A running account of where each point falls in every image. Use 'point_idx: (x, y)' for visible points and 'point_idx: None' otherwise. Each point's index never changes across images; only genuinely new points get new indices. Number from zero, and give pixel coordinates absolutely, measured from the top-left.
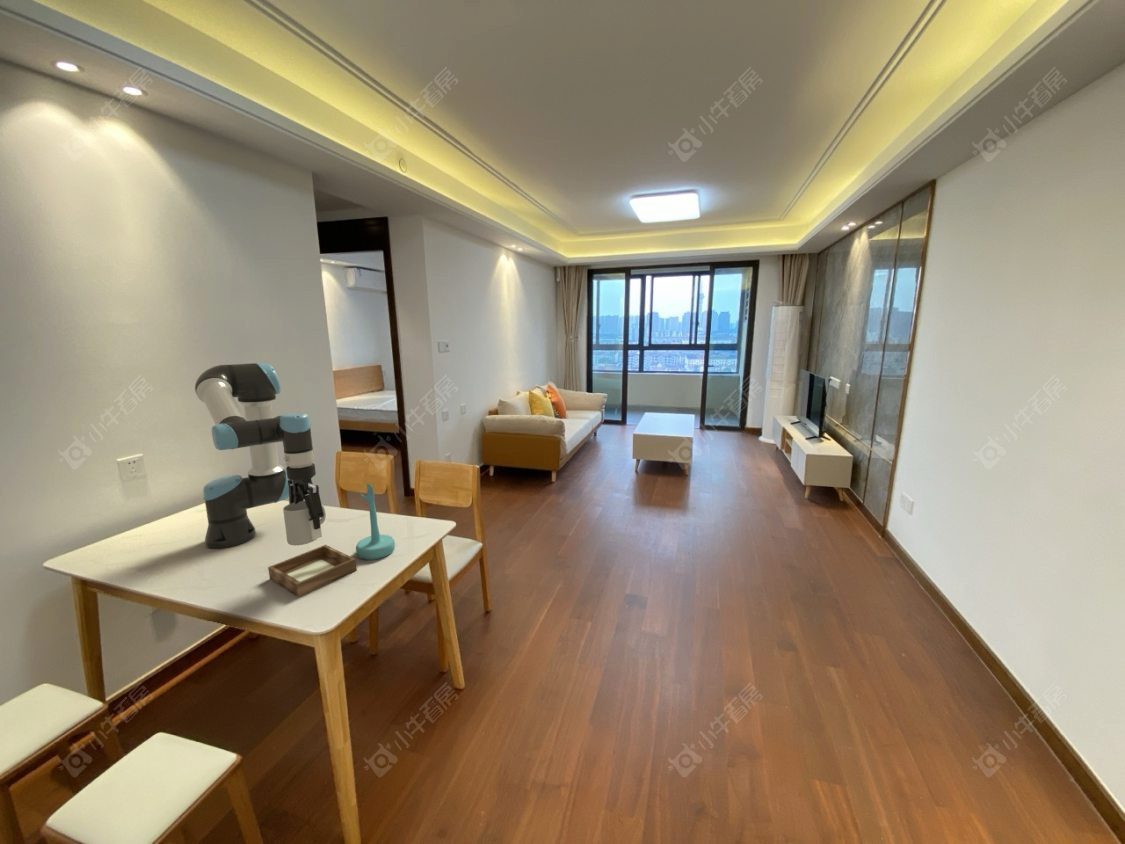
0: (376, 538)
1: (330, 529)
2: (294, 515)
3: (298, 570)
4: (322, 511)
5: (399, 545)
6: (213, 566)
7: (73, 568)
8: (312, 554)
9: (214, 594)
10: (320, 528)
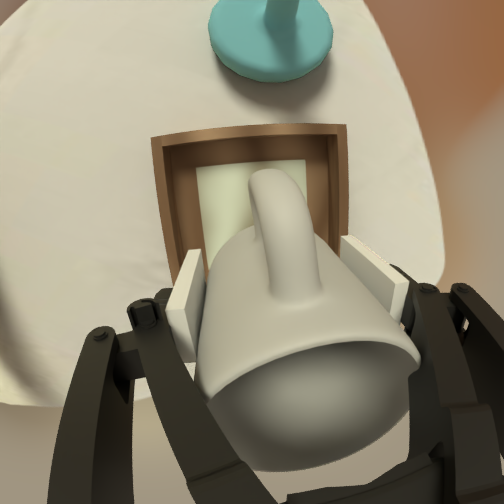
0: (295, 17)
1: (23, 89)
2: (365, 421)
3: (212, 241)
4: (482, 302)
5: None
6: (53, 337)
7: (7, 403)
8: (169, 188)
9: None
10: (371, 252)
